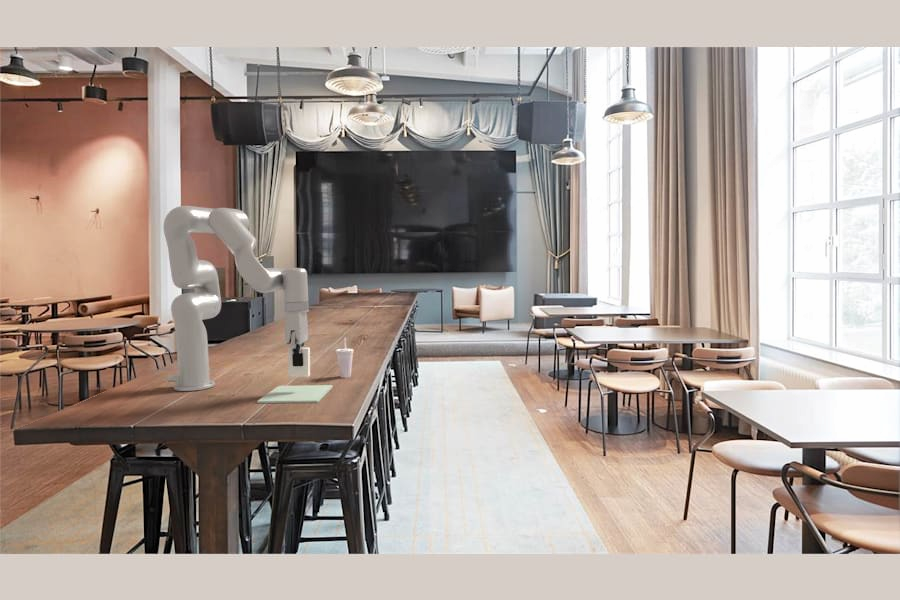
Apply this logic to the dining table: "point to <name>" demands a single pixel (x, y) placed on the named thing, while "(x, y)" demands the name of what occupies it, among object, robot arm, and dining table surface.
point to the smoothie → (345, 361)
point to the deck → (299, 370)
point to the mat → (296, 394)
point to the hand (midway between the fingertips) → (299, 364)
